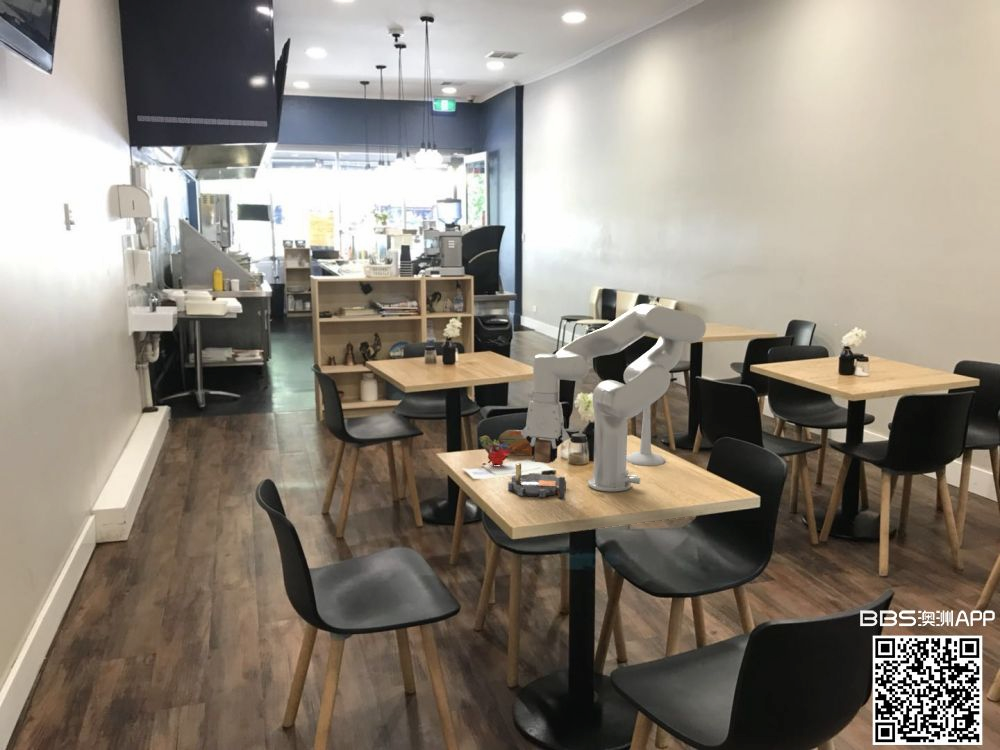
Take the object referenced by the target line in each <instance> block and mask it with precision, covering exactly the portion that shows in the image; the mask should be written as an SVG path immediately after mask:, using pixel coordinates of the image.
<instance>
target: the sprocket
mask: <svg viewBox="0 0 1000 750" xmlns="http://www.w3.org/2000/svg"><path fill="white" fill-rule="evenodd" d="M566 488H567V480H566V479H565V489H566ZM507 489H508V491H513V492H514V493H516V494H517V495H518V496H520V497H523V496H529V497H538V498H547V497H550V496H553V495H559V477H558V476H556V475H555V474H551V473H550V474H544V473H543V474H542V473H541V474H540V473H535V472H532V473H528V474H524V475H522V463H520V462H517V463H515V475H514V476H512V477H511V481H507Z"/></svg>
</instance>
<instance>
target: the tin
mask: <svg viewBox="0 0 1000 750" xmlns="http://www.w3.org/2000/svg"><path fill="white" fill-rule="evenodd" d="M522 430H523V429H520V430H519V429H507V430H505V431H504V432H502V433H501V434H500V435H499V436H498V439H497V441H499V443H500V444H501V445H502V448H503V450H504V451H505V450H507V449H508V448H509V450H508V451H510V453H508V454H525V455H524V456H532V446H531V445H530V443H529V442H528V440H527V439H526V438H525V437H524V436H522V435H521V432H522ZM538 439H539V438H538ZM501 451H502V450H501Z"/></svg>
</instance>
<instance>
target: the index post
mask: <svg viewBox="0 0 1000 750" xmlns="http://www.w3.org/2000/svg"><path fill="white" fill-rule="evenodd" d="M558 478H559V494H558V499H559V500H564V499H565V496H566V495H565V493H566V492H565V491H566V490H565V489H566V488H565V480H566V478H565V476H559V477H558Z"/></svg>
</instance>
